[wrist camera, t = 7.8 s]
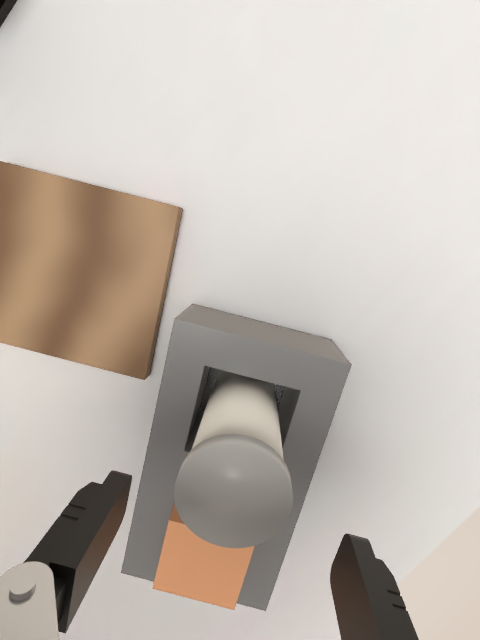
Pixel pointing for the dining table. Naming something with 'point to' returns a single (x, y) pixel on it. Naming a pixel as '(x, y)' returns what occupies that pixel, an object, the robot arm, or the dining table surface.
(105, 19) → the dining table surface
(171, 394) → the grey hollow block
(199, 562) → the orange cube
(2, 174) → the walnut board
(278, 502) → the cylinder
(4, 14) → the end cap
